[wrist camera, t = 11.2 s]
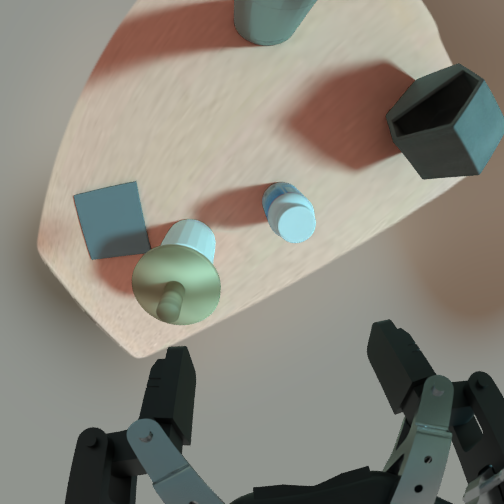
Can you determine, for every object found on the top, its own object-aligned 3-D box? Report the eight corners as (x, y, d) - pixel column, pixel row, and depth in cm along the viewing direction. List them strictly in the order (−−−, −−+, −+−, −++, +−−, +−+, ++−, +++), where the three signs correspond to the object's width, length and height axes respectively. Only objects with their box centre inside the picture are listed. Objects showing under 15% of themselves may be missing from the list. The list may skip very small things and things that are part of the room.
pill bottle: (269, 224, 44) (279, 256, 34) (256, 188, 41) (264, 210, 31) (305, 212, 43) (326, 239, 33) (294, 176, 41) (314, 193, 31)
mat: (75, 194, 39) (73, 195, 39) (136, 181, 39) (134, 181, 39) (93, 258, 44) (91, 259, 44) (151, 251, 45) (150, 252, 44)
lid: (124, 249, 34) (106, 273, 28) (213, 238, 34) (209, 262, 28) (148, 321, 39) (138, 350, 33) (226, 316, 39) (226, 346, 33)
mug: (154, 272, 46) (138, 305, 37) (176, 211, 42) (161, 234, 33) (196, 289, 48) (189, 325, 39) (223, 230, 44) (220, 258, 35)
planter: (448, 56, 27) (503, 93, 15) (471, 91, 30) (525, 146, 18) (381, 104, 40) (397, 162, 28) (407, 135, 42) (429, 204, 30)
